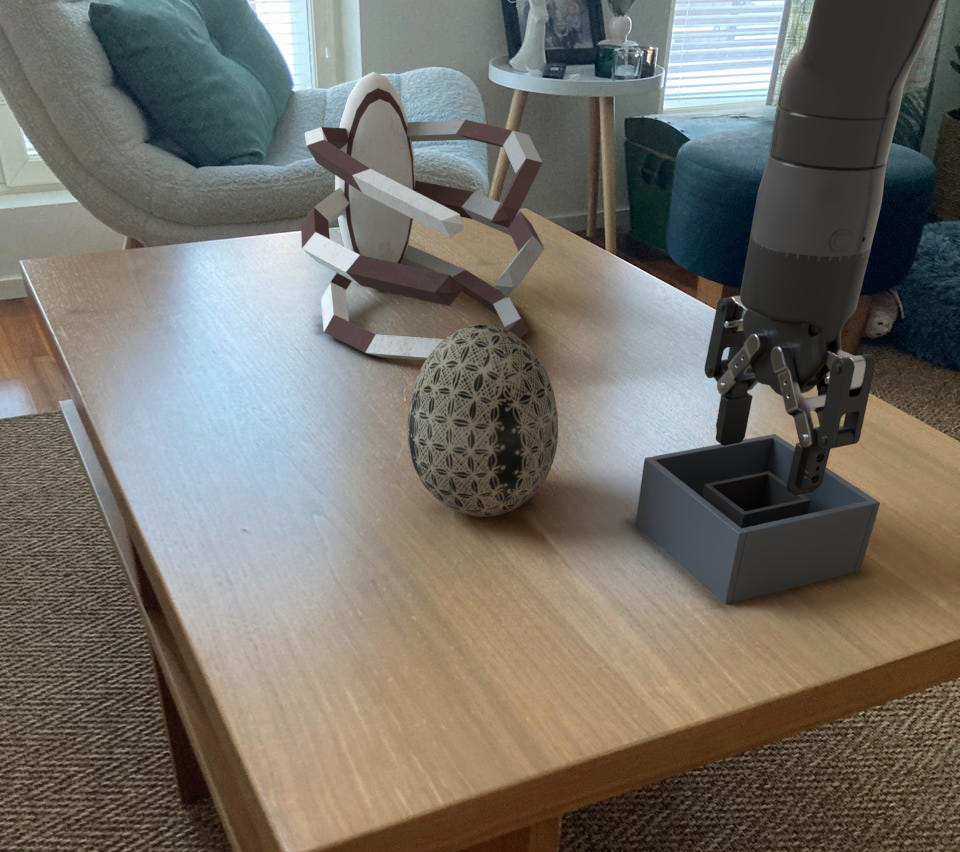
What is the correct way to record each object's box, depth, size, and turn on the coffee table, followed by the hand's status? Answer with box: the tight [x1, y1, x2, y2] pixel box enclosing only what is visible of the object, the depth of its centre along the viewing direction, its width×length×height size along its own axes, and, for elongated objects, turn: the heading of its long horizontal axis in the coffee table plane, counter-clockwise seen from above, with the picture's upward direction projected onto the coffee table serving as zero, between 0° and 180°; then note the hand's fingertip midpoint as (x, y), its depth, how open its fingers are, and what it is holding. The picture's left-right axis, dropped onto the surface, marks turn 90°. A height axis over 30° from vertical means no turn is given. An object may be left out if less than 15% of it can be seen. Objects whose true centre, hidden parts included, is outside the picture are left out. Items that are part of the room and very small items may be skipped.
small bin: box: [702, 471, 811, 528], centre depth 78 cm, size 6×5×5 cm
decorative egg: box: [406, 323, 559, 518], centre depth 80 cm, size 12×12×15 cm
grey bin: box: [635, 433, 881, 605], centre depth 78 cm, size 12×12×6 cm
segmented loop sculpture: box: [300, 71, 546, 362], centre depth 112 cm, size 24×27×35 cm
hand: (763, 465), depth 75 cm, fingers open, 8 cm apart
